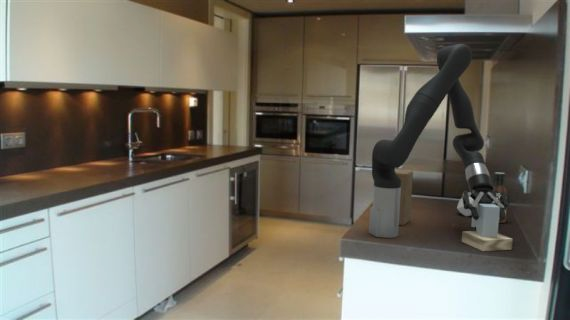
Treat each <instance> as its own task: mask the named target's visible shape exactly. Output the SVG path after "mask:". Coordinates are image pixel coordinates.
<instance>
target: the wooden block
mask: <svg viewBox="0 0 570 320" xmlns="http://www.w3.org/2000/svg"><path fill="white" fill-rule="evenodd" d="M395 173H396V174H397V176H398V177H399V178H400V179H401V193H400V209H399V226H403V227H404V225H406V224H408V223H409V222H410V220H411V210H412V209H411V208H412V197H413V196H412V192H413V176H414V170H407V169H399V168H395Z"/></svg>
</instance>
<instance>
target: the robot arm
mask: <svg viewBox="0 0 570 320" xmlns="http://www.w3.org/2000/svg"><path fill="white" fill-rule="evenodd" d="M472 51H473V50H472V49H471V47H470V46H469V45H467V44H464V43H455V44H451V45H446V46H443V47H441V48H440V49H439V50H438V51H437V53H436V63H437V68H438V72H437V73H436V74H435V75H433V77H432V78H431V79H429V80H428V81H427V82H426V83H424V84H423V85H422V86H421V87H420V88H419V89H418V90H417V91H416V92H415V93H414V94H413V96H412V98H411V100H410V101H409V102H408V104H407V106H406V110H405V114H404V115H405V116H404V122H403V125H402V127H401V130H400V131H399V132H398V134H397V135H396V136H395V137H394V139H393V140H392V139H381V140H379V141H377V142H376V143H375V144H374V146H373V149H372V153H371V175H372V179H373V193H372V196H373V197H372V206H370V208H369V222H368V223H369V226H368V228H369V229H368V233H369V234H371V235H372V236H374V237H375V238H384V239H385V238H387V239H388V238H389V239H390V238H397V237H398V236H399V226H400V225H399V209H400V193H401V179H400V178H399V177H398V176H397V174H396V173H395V169H399V168H400V167H402V166H403V165H404V164H405V163H406V161H407V160H408V158H409V157H410V154H411V153H412V151H413V149H414V147H415V144H416V143H417V141H418V140H419V138H420V136H421V134H422V133H423V131H424V130H425V129H426V128H425V127H426V126H427V125H428V124H429V122H430V120H431V119H432V117H433V116H434V115H435V113H436V112H437V110H438V109H439V107H440V106H441V104H442V103H443V100H444V99H445V98H446V97H447V95H448V98H449V103H450V107H451V111H452V117H453V122H454V127H455V128H456V129H461V130H463V129H465V130H469V131H471V132H467V133H463V134H458V135H455V136H454V138H453V139H452V147H453V149H454V151H455V152H456V153H457V155H458V156H459V158H460V159H461V162H462V164H463V168H464V171H465V179H466V181H467V185H468V188H469V189H468V190H469V192H468V191H467V190H464V191H463V192H462V195H461V198H462V199H463V205H464V208H465V209H470V210H471V213H472V216H471V218H472V217H473V218H474V219H475V220H478V218H479V214H478V211H477V208H476V205H477V204H494V205H496V206H498V207H500V213H499V218H500V221H503V220H504V219H505V218H506V219H507V213H506V214H505V211H504V210H506V211H507V209H508V208H509V206H510V204H509V202H508V198H507V199H506V196H505V194H504V192H501V193H495V192H494V190H493V183H492V179H491V176H490V172H489V170H488V167H487V166H486V162H485V159H484V156H483V154H482V153H481V152H479V151H481V150H482V149H483V147H484V146H485V140H484V138H483V135H482V134H481V133H480V130H479V128H478V126H477V123H476V120H475V115H474V114H475V113H474V110H473V104H472V102H471V99H470V98H469V96H468V94H467V92H466V91H465V89H464V87H463V86H462V84H461V82H460V80H459V79H460V77H462V75H463V74H464V73H465V71H466V70H467V69H468V67H469V66H470V65H471V63H472V59H473V52H472ZM469 197H471V198H472V199H473V200H474V203H473V204H470V202H469ZM496 197H497V198H498V199H497V198H496ZM493 201H494V202H495V203H493ZM499 201H500V202H499ZM506 219H505V220H506Z"/></svg>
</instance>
